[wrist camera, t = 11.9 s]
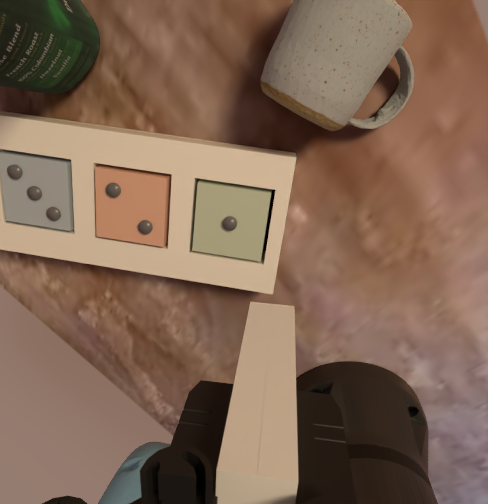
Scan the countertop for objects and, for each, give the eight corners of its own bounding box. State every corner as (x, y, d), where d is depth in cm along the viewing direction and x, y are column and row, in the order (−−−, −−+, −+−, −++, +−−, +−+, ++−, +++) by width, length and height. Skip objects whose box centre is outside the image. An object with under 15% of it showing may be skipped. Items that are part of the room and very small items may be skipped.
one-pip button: (263, 249, 36) (260, 262, 33) (199, 239, 36) (191, 251, 33) (272, 185, 33) (271, 194, 30) (205, 175, 34) (196, 182, 31)
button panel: (274, 279, 37) (272, 294, 34) (16, 237, 38) (-5, 248, 36) (295, 152, 32) (296, 157, 30) (3, 111, 34) (-23, 112, 31)
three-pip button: (87, 221, 37) (68, 231, 34) (27, 211, 37) (4, 221, 34) (85, 157, 34) (65, 163, 31) (21, 148, 35) (-4, 152, 32)
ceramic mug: (256, 90, 31) (247, 88, 24) (307, -20, 28) (315, -60, 21) (370, 151, 32) (394, 167, 25) (432, 51, 29) (480, 37, 22)
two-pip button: (173, 235, 36) (162, 248, 33) (111, 225, 36) (95, 237, 33) (176, 171, 34) (165, 178, 31) (110, 162, 34) (93, 168, 31)
